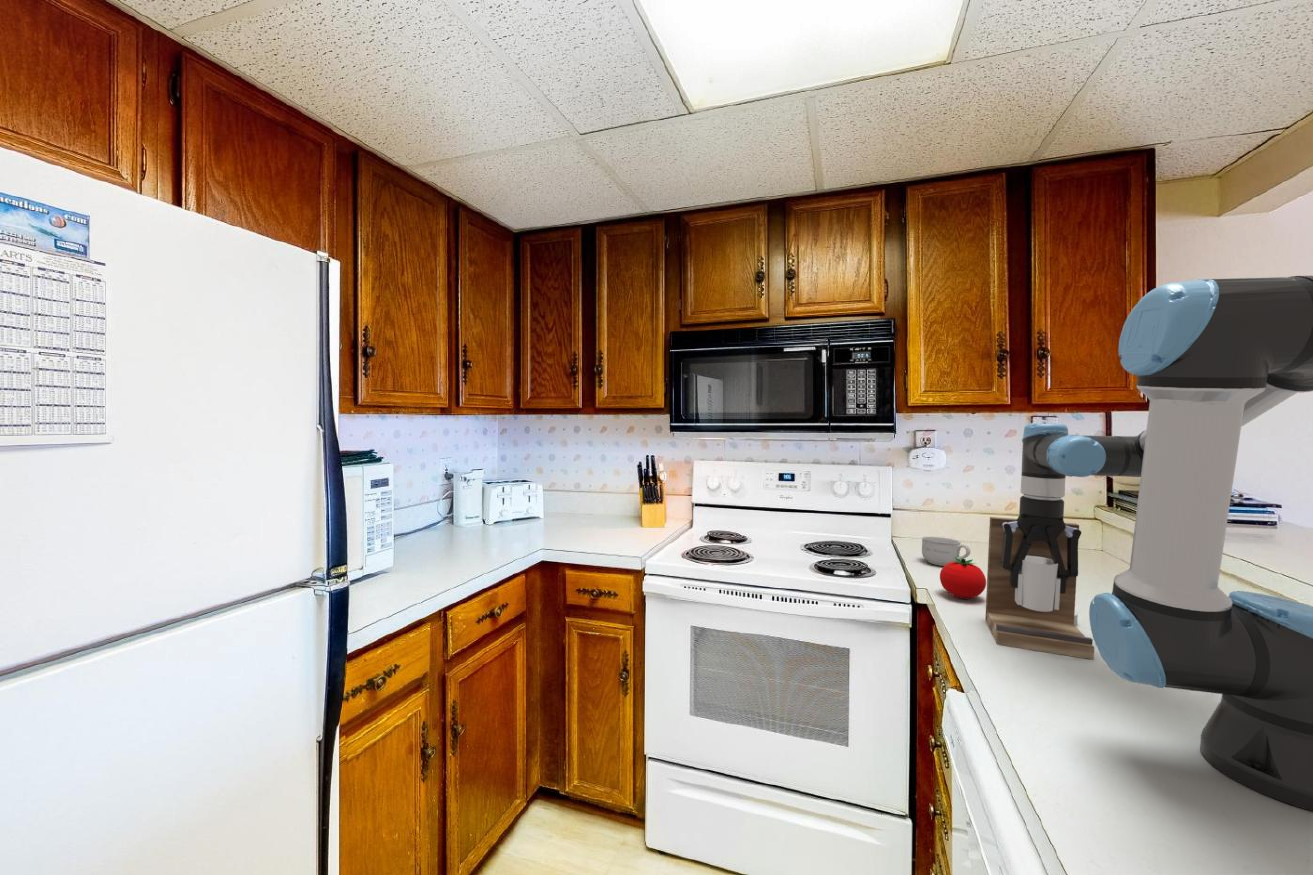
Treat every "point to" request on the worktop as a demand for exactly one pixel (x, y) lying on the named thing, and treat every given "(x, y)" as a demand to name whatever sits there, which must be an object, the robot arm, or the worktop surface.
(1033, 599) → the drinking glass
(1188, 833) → the worktop surface
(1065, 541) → the wooden display stand
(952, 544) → the teacup
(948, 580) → the tomato
